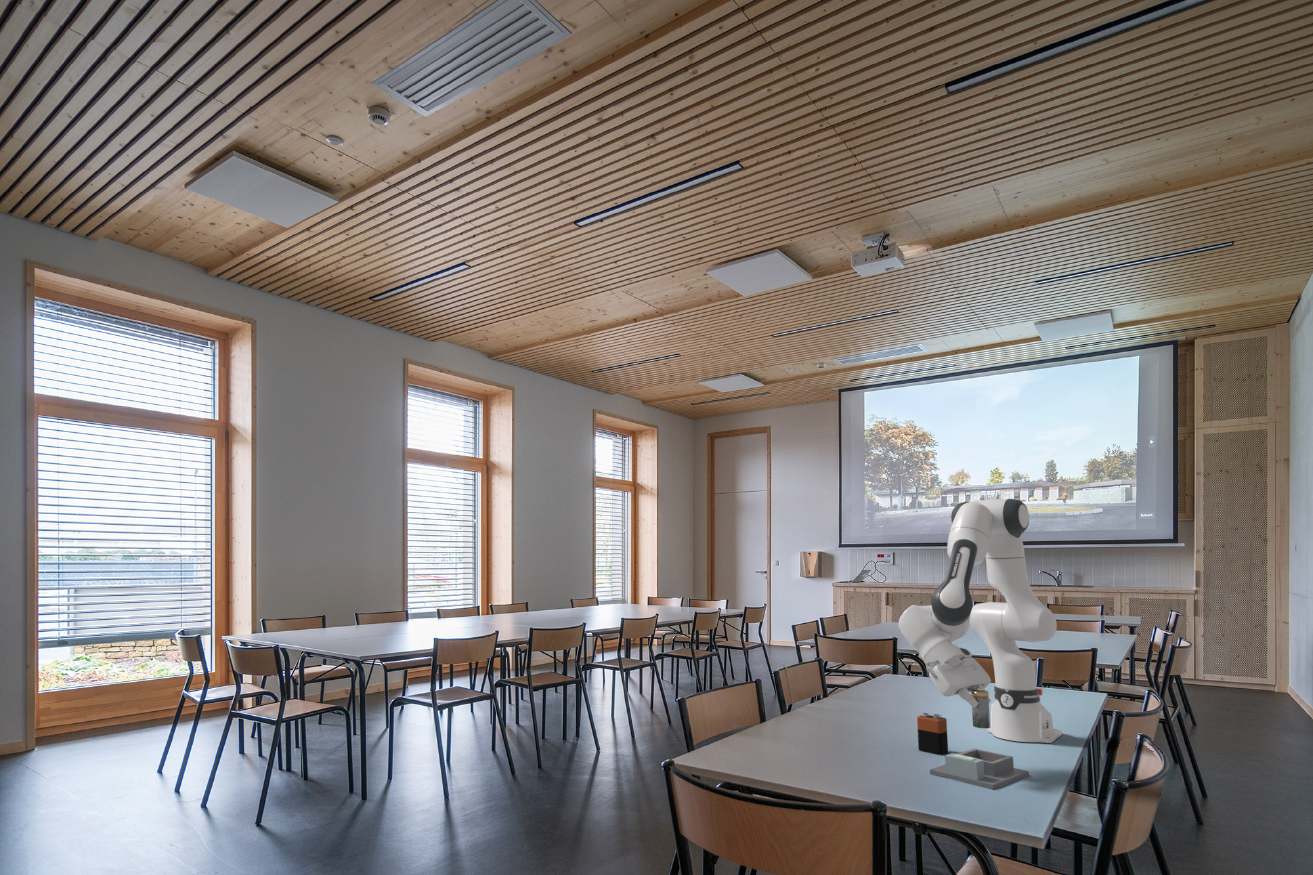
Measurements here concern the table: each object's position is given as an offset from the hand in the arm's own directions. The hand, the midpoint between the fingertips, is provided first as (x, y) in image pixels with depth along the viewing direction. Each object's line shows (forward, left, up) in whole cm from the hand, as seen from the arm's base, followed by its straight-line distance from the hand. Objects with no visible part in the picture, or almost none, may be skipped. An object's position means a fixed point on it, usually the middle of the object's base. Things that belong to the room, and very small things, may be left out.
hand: (982, 704), depth 190 cm
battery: (-9, -20, -17) cm, 27 cm away
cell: (0, -1, -5) cm, 5 cm away
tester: (+2, -1, -16) cm, 17 cm away
